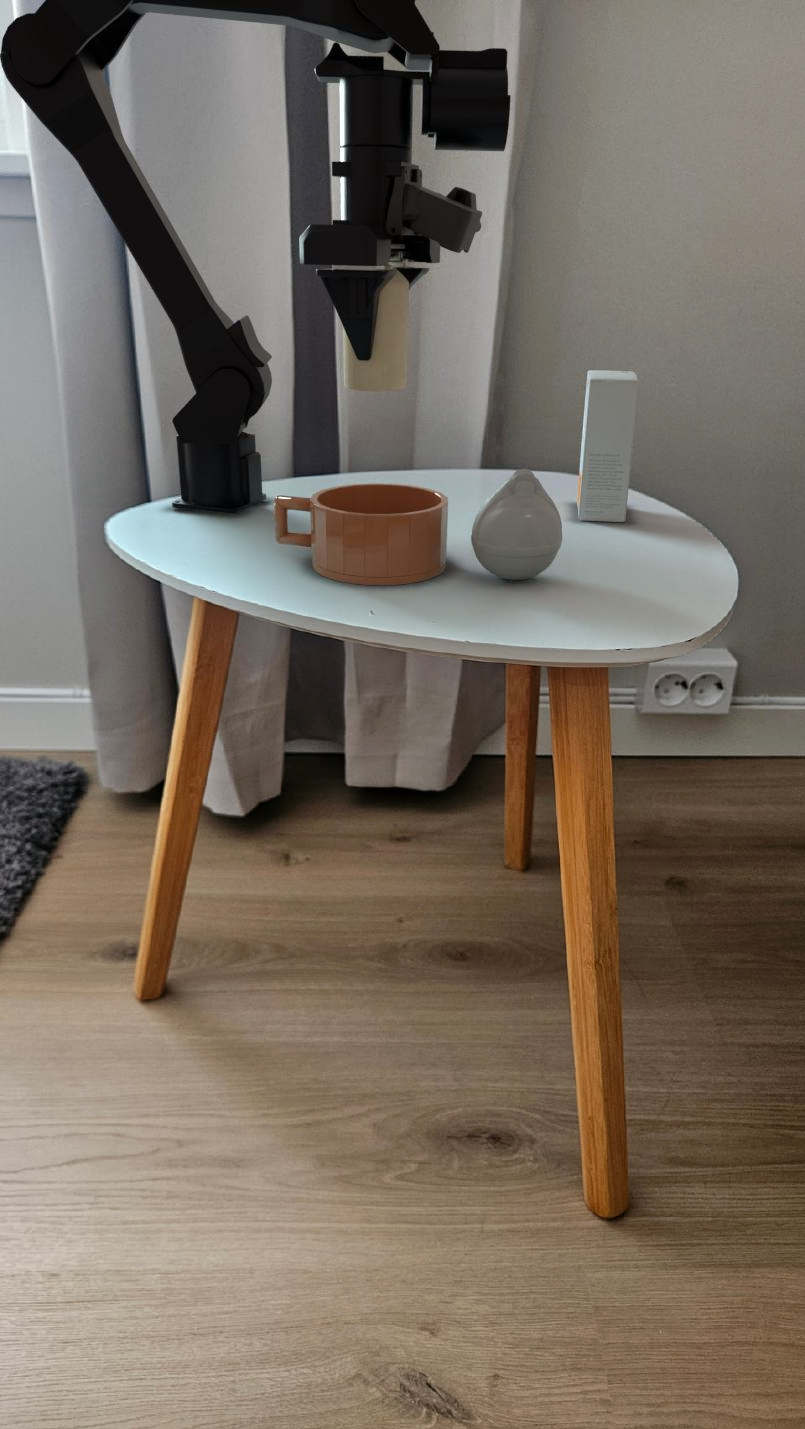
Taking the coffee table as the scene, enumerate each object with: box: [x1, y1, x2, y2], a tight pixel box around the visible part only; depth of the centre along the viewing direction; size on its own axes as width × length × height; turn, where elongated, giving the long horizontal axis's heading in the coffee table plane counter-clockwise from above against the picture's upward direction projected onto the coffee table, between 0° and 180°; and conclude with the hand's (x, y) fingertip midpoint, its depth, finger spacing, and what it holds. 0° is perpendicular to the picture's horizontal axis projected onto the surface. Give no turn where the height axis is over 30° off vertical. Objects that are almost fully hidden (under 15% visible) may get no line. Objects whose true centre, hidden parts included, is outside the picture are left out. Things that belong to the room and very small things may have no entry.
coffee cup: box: [273, 482, 449, 586], centre depth 74 cm, size 14×10×5 cm
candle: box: [342, 264, 410, 393], centre depth 85 cm, size 6×6×10 cm
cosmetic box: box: [576, 369, 640, 523], centre depth 87 cm, size 6×4×12 cm
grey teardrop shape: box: [470, 468, 563, 581], centre depth 71 cm, size 7×7×8 cm
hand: (375, 357), depth 86 cm, fingers closed on candle, 5 cm apart
